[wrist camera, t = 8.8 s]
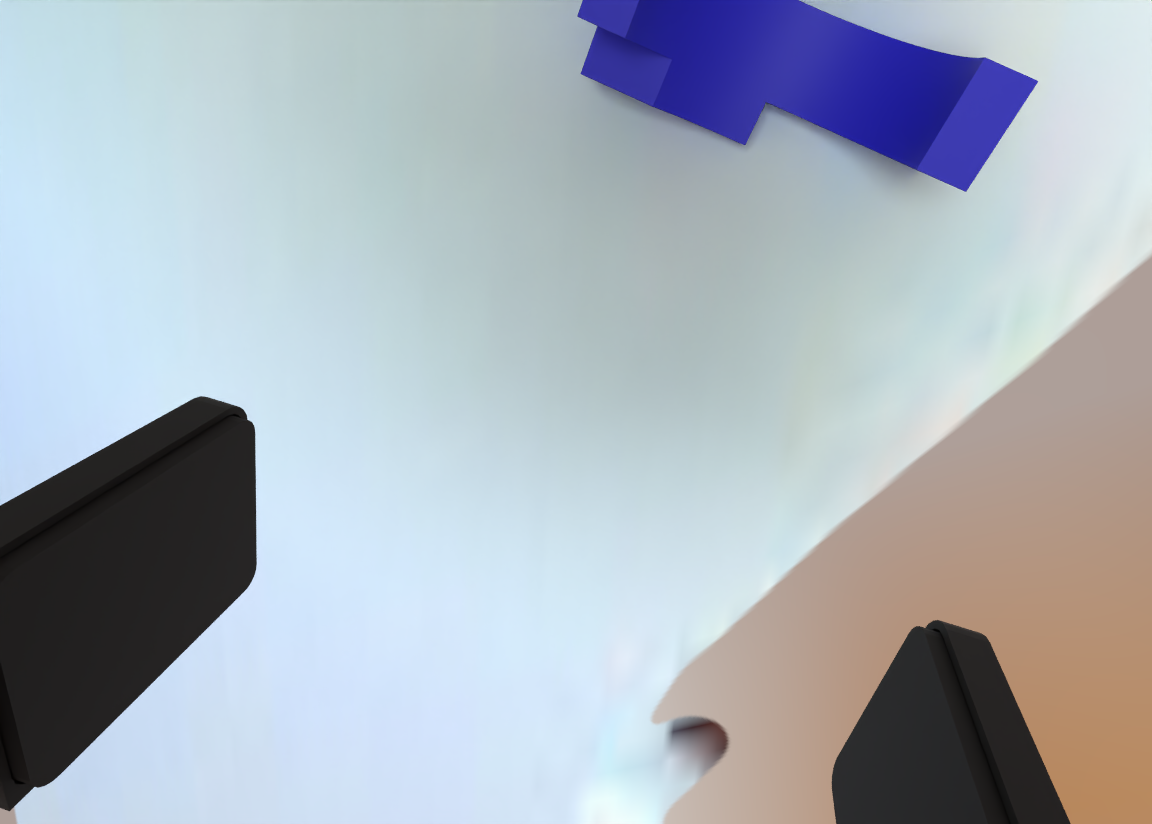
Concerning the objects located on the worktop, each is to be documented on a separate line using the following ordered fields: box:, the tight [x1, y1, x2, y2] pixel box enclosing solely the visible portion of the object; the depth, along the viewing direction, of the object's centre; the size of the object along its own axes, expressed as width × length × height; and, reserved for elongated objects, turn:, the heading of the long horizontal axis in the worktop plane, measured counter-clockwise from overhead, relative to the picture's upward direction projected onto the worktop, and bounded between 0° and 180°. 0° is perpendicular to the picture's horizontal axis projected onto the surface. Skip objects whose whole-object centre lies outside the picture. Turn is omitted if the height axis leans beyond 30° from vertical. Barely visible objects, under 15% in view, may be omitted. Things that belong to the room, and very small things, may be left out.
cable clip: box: [577, 0, 1038, 192], centre depth 22 cm, size 12×4×6 cm, turn 68°
